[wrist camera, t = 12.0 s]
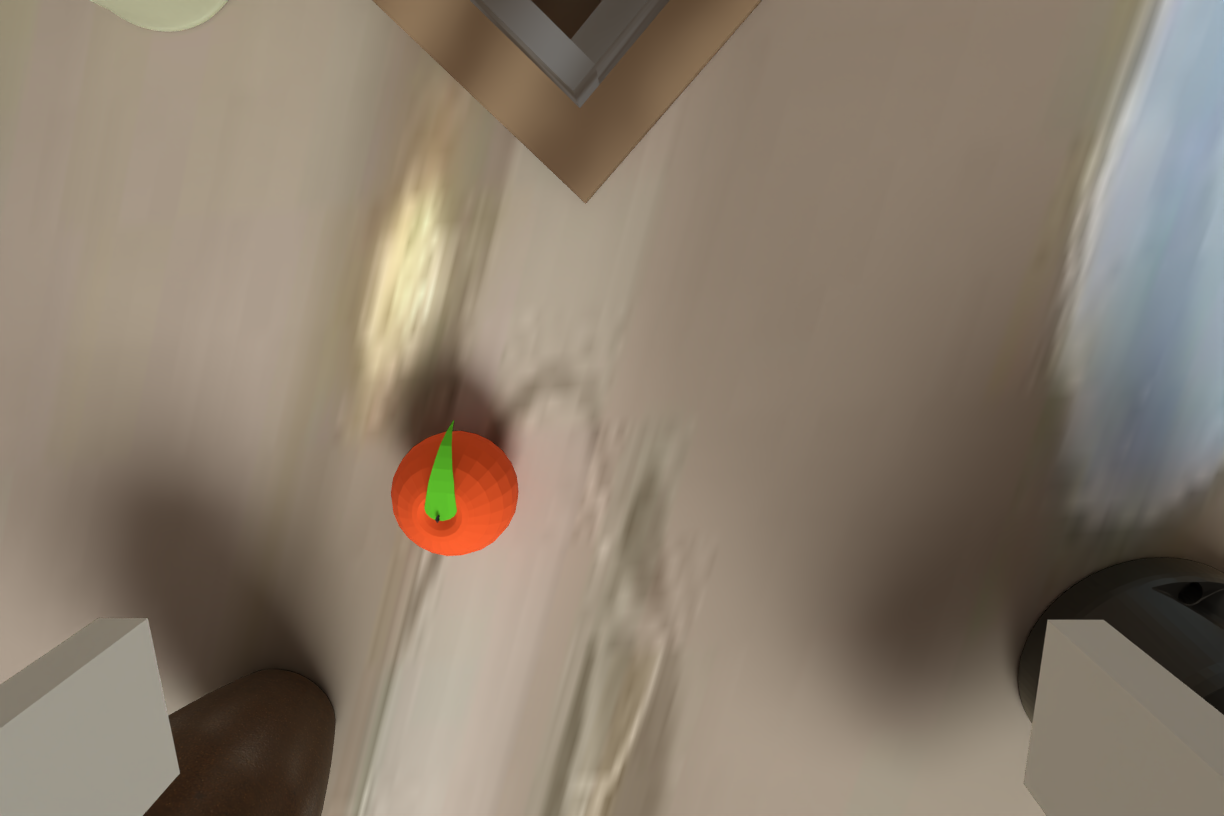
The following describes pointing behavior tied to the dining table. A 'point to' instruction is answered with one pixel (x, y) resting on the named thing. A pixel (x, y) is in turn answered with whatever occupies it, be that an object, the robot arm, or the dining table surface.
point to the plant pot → (252, 750)
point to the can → (164, 12)
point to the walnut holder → (573, 67)
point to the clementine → (454, 493)
